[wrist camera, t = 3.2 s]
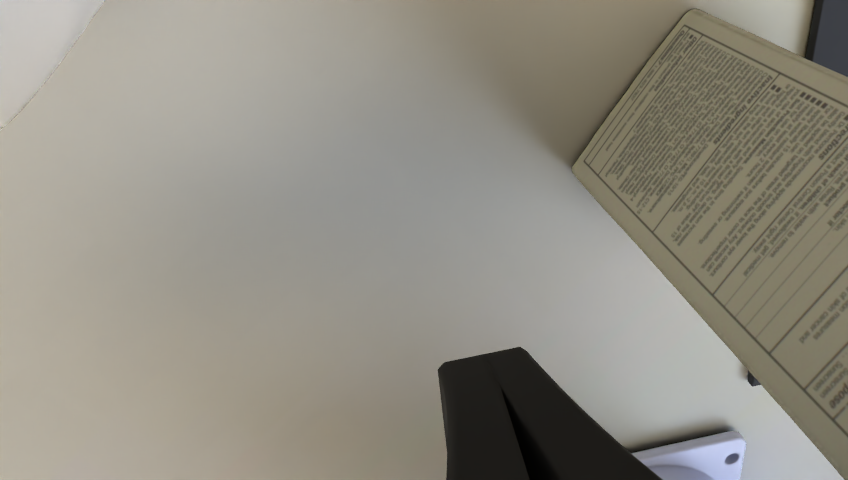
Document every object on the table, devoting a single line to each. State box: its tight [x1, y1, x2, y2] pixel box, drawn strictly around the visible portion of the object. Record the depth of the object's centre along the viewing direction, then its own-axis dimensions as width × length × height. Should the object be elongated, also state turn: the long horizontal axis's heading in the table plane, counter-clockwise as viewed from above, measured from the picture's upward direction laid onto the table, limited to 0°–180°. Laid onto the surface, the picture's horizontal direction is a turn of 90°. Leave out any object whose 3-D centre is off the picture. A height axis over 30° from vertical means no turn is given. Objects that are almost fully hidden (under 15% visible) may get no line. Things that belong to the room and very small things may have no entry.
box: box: [572, 9, 848, 480], centre depth 15 cm, size 5×4×11 cm
